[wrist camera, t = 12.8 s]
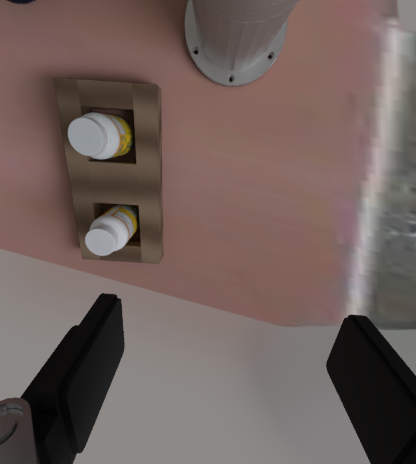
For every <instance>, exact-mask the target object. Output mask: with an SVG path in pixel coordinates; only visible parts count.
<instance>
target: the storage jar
mask: <svg viewBox="0 0 416 464" xmlns="http://www.w3.org/2000/svg"><path fill="white" fill-rule="evenodd" d="M7 1H10V2H12V3H17V4H26V3H31V2H33V1H35V0H7Z"/></svg>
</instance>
